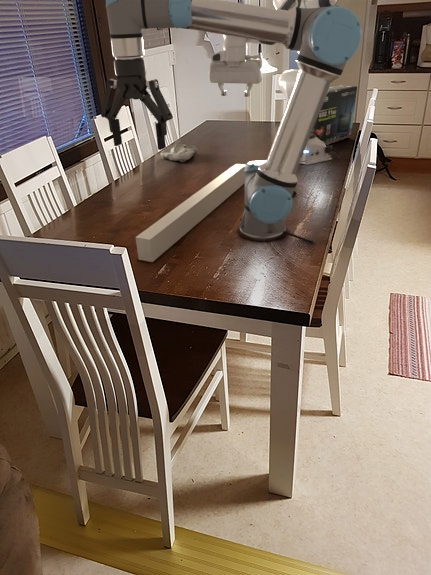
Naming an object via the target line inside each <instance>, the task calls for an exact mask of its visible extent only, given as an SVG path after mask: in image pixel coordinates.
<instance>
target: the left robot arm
mask: <svg viewBox="0 0 431 575" xmlns="http://www.w3.org/2000/svg"><path fill="white" fill-rule="evenodd" d="M243 3H244V2H235V1H229V0H105V9H106V15H107V22H108V27H109V35H110V44H111V52H112V57H113V58H115V59H114V60H113V66H114V73H115V76H116V78H109V79H106V82H105V83H106V91H105V94H104V99H103V104H102V108H101V112H100V117H101V118H105V119H107V122H108V127H109V132H110V133H112V140H113V145H114V147H119V146H121V145H123V140H122V139H123V138H122V132H121V131H122V130H121V125H120V119H119V118H118V115H119V113H120V111H121V110H122V107H123V106H124V104H125V102H126V101H127V100H131V99H132V100H137V101H138V100H139V101H140V102H141V103H143V104H144V106H145V107H146V108H147V109H148V111H149V112H150V114H151V115H152V116H153V117H154V118H155V120H156V121H157V122H155V131H156V145H157V150H158V151H161V150H164V149H165V148H167V146H166V136H167V135H168V130H167V129H168V126H167V122H168V121H171V120H172V119H173V118H174V116H173V113H172V112H171V109H170V108H169V105H168V102H167V101H166V99H165V97H164V95H163V92H162V91H161V89H160V85H159V84H160V83H159V80H158V79H156V78H155V79H151V80H147V67H146V59H145V58H144V57H143V56H144V55H145V49H144V39H143V37H144V36H143V30H148V29H184V30H192V31H197V32H204V33H212V34H217V35H222V36H223V35H229V36H236V37H242V38H249V39H255V40H262V41H268V42H275V44H280V45H281V44H282V45H283V47H284V48H285V49H287V50H292V51H296V52H298V51H300V52H299V53H298V55H297V57H296V60H295V62H296V64H297V67H298V70H299V73H298V75H297V78H296V81H295V84H294V86H293V89H292V92H291V95H290V97H289V100H288V103H286V106H285V109H284V111H283V113H282V117H281V119H280V121H279V122H280V123H279V125H278V128H277V131H276V133H275V136H274V139H273V142H272V144H271V147H270V150H269V152H268V155H267V158H266V159H261V160H259V159H258V160H251V161H248V162H246V163H245V164H244V165H245V171H244V174H245V183H244V211H243V213H242V216H241V217H240V218H239V225H238V232H239V235H240V236H241V237H242V238H244V239H247V240H250V241H254V242H271V241H277V240H279V239H281V238H283V237H285V235H287V236H289V237H293V238H296V239H298V240H300V241H303V242H306V243H310V244H313V243H314V240H312V239H307V238H305V237H302V236H300V235H298V234H295V233H291V232H289V231H287V223H286V221H285V219H286V218H287V217H288V216H289V215H290V213H291V211H292V209H293V202H294V200H293V196H292V195H293V192H294V191H296V187H297V184H298V183H299V179H298V176H297V173H296V172H297V171H298V168H299V165H300V160H301V158H302V155H303V153H304V150H305V148H306V145H307V143H308V140H309V138H310V135H311V133H312V130H313V128H314V125H315V123H316V120H317V118H318V115H319V113H320V110H321V108H322V105H323V103H324V100H325V98H326V95H327V93H328V90H329V88H330V85H331V86H332V83H333V82H334V81H335V80H337V79H339V78H341V76H342V75H343V72H344V70H345V67H346V65H347V63H348V61H349V60H351V58H353V56H354V55H355V54H356V52H357V51H358V49H359V47H360V44H361V40H362V26H361V23H360V20H359V18H358V17H357V15H356V14H355V12H353V11H352V10H351V9H349V8H346V7H345V6H340V5H337V4H336V5H335V6H329V7H319V8H298V7H293V8H292V9H291V10H289V11H287V10H281V9H276V8H275V7H274V8H273V7H268V6H261V5H255V4H249V3H244V4H243ZM117 88H118V89H119V91H118V93H117ZM147 89H148V90H149V91H150V92H149V91H148V90H147ZM116 93H117V95H116ZM115 96H116V98H115Z"/></svg>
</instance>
